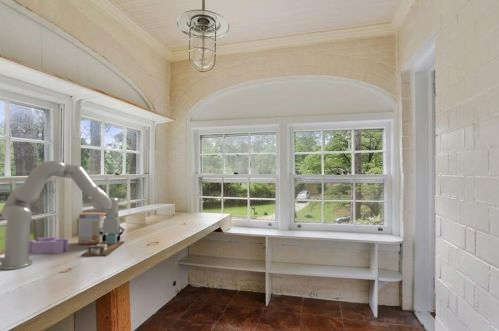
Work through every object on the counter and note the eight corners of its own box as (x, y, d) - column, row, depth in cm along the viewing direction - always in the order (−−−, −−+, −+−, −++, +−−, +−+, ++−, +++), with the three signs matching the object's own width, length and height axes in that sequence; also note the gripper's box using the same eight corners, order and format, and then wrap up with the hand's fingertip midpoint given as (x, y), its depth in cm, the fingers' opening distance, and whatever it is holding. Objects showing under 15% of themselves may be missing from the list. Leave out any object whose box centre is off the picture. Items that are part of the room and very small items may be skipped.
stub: (105, 243, 175) (106, 234, 175) (108, 241, 180) (109, 232, 180) (113, 243, 175) (113, 234, 176) (116, 241, 180) (116, 232, 181)
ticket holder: (81, 256, 153) (81, 247, 153) (102, 242, 181) (103, 235, 181) (106, 256, 155) (106, 247, 155) (124, 242, 183) (124, 235, 183)
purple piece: (72, 248, 167) (72, 237, 168) (57, 255, 155) (57, 243, 155) (41, 247, 168) (42, 236, 168) (24, 253, 156) (25, 242, 156)
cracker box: (103, 242, 182) (104, 212, 183) (98, 244, 176) (99, 213, 177) (83, 241, 182) (84, 211, 183) (77, 244, 176) (79, 213, 176)
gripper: (96, 216, 173) (95, 243, 173) (123, 217, 175) (122, 243, 175) (101, 214, 181) (100, 240, 181) (127, 215, 183) (126, 240, 182)
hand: (111, 241), depth 178 cm, fingers open, 8 cm apart
